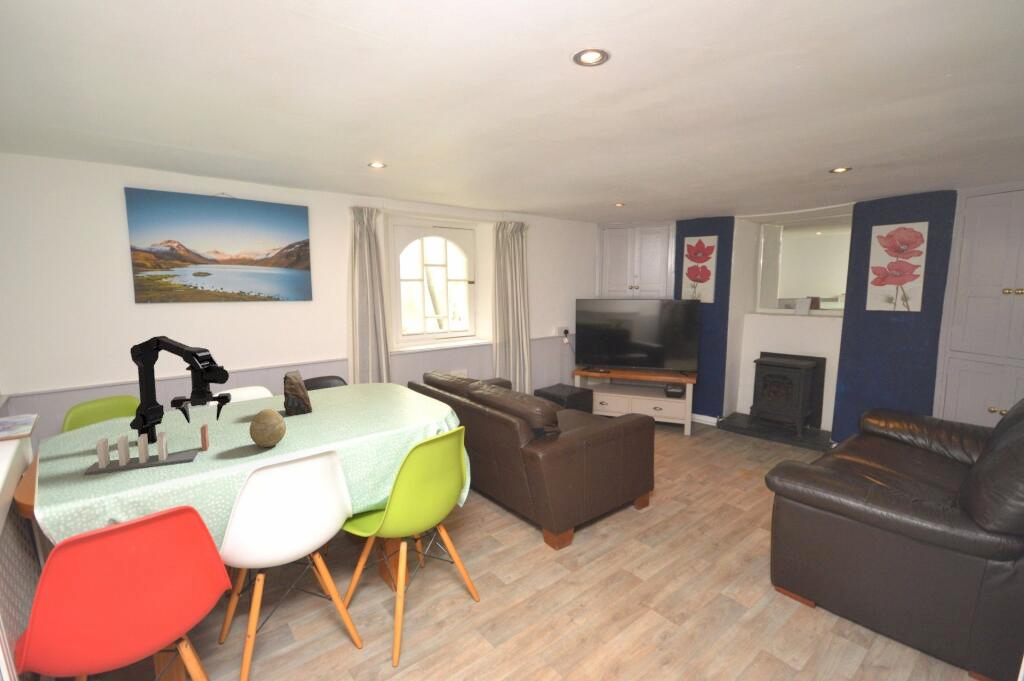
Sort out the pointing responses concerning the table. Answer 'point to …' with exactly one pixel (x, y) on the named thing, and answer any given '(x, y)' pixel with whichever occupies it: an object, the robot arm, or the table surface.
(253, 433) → the fossilized egg
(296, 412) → the tapered brown rock
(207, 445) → the brick domino
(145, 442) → the domino
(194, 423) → the table surface
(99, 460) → the domino
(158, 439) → the domino
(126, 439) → the domino
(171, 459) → the board
